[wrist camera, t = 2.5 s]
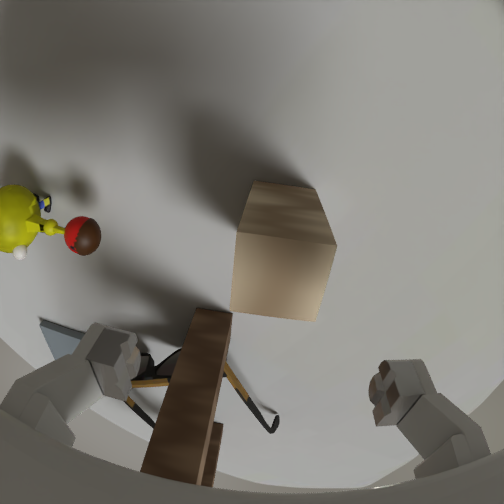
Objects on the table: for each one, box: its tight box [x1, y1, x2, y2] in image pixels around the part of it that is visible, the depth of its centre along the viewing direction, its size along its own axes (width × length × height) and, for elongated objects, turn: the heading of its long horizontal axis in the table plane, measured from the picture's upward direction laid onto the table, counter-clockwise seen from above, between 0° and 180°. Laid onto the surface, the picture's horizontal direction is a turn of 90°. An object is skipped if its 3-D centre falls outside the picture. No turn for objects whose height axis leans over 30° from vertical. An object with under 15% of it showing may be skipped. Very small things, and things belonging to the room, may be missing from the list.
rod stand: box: [140, 308, 232, 487], centre depth 23 cm, size 3×22×15 cm, turn 174°
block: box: [230, 181, 337, 322], centre depth 16 cm, size 4×4×8 cm
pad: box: [40, 320, 85, 360], centre depth 30 cm, size 10×10×1 cm
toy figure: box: [0, 184, 101, 260], centre depth 17 cm, size 18×6×7 cm, turn 79°
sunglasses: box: [124, 348, 279, 434], centre depth 27 cm, size 14×15×5 cm
